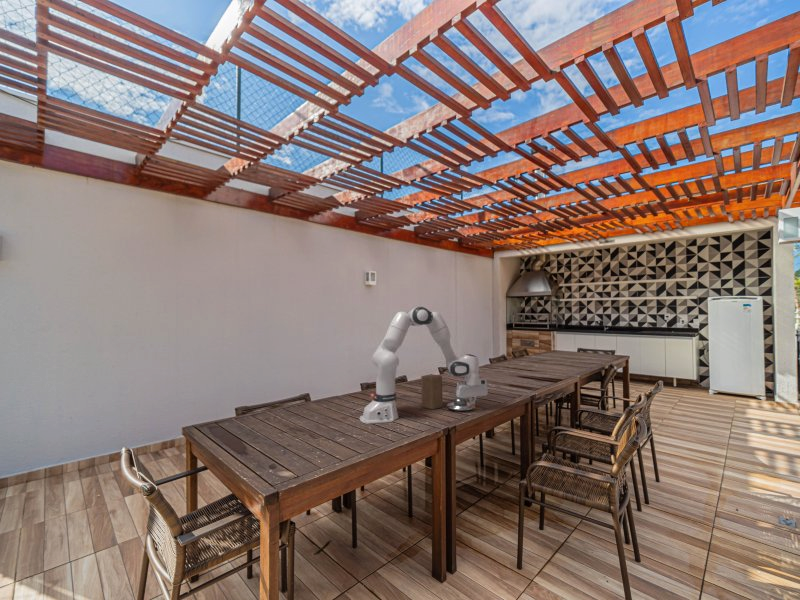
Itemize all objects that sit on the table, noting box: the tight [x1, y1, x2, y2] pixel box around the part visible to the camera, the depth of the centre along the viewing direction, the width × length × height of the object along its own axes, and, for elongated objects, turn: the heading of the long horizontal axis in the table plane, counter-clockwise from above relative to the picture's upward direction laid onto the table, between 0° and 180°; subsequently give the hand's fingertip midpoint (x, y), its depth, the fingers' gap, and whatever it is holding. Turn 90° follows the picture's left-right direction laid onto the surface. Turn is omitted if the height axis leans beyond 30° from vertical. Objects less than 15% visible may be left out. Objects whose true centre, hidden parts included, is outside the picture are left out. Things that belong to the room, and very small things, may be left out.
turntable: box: [446, 398, 476, 411], centre depth 224 cm, size 17×17×6 cm
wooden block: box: [420, 373, 444, 411], centre depth 230 cm, size 10×10×20 cm
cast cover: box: [453, 396, 468, 406], centre depth 223 cm, size 8×8×5 cm
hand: (472, 404), depth 218 cm, fingers closed
